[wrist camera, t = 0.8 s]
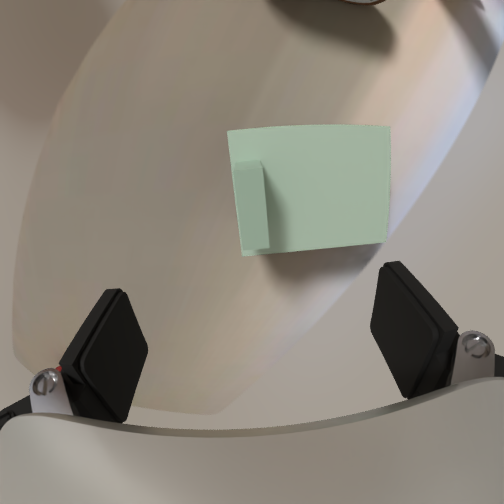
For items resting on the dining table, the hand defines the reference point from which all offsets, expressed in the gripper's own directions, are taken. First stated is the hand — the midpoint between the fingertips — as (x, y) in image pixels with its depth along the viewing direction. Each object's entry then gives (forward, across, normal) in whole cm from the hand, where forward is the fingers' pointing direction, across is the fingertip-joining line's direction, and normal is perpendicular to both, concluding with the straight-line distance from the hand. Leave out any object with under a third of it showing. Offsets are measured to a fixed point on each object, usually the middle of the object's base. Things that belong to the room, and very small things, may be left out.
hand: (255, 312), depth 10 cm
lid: (+18, -6, 0) cm, 19 cm away
